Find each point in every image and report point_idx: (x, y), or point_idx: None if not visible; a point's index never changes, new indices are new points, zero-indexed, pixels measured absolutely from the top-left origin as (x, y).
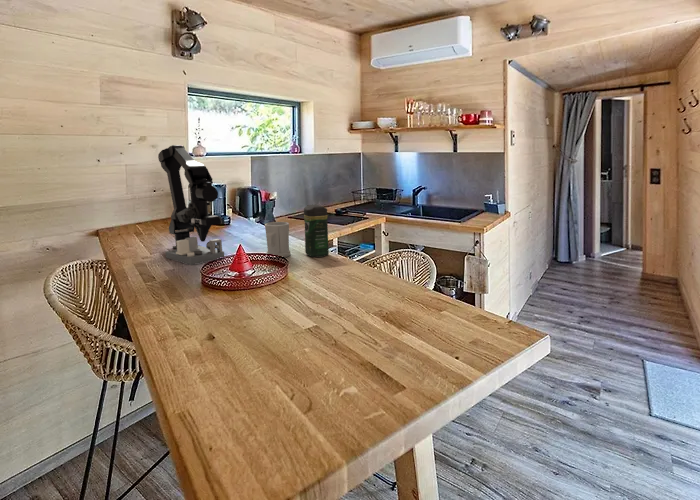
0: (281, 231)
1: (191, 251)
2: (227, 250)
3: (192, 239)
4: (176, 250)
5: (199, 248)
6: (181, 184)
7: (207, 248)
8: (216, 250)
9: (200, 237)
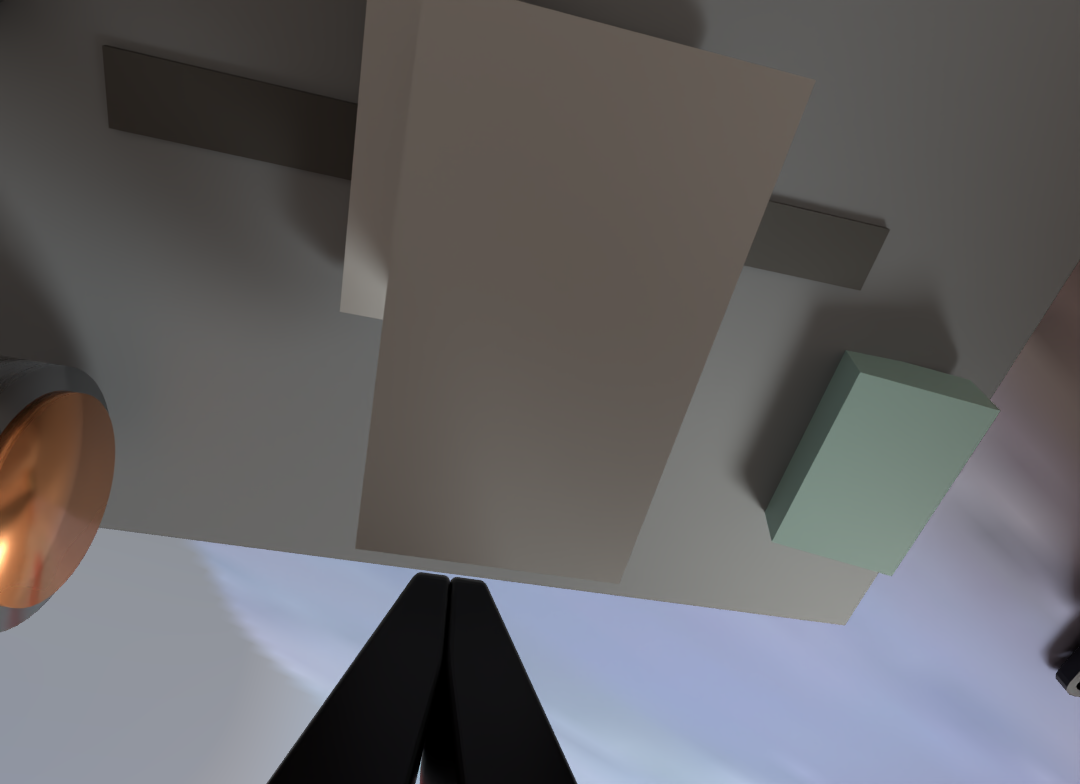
0: None
1: (376, 14)
2: None
3: (391, 278)
4: (1075, 44)
5: None
6: None
7: (70, 368)
8: None
9: (450, 675)
